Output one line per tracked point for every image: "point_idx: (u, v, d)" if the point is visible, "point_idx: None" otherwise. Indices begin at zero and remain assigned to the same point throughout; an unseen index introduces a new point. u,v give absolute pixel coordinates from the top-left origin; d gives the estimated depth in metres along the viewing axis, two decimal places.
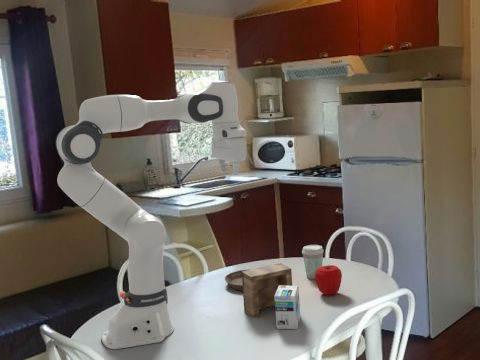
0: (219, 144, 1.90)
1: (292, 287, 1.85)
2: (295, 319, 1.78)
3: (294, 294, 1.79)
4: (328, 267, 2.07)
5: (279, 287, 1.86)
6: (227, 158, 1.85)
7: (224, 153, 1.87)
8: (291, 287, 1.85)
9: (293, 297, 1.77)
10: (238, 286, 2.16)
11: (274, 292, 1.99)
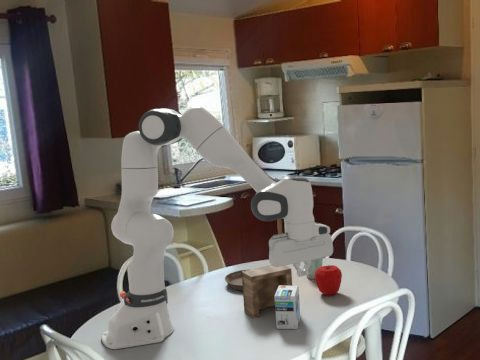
0: (294, 247, 1.68)
1: (292, 287, 1.85)
2: (295, 319, 1.78)
3: (294, 294, 1.79)
4: (328, 267, 2.07)
5: (279, 287, 1.86)
6: (314, 257, 1.71)
7: (308, 253, 1.70)
8: (291, 287, 1.85)
9: (293, 297, 1.77)
10: (238, 286, 2.16)
11: (274, 292, 1.99)
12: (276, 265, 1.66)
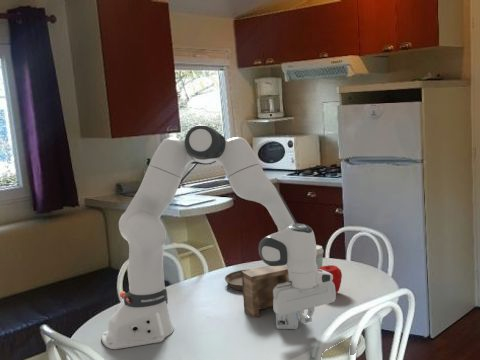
0: (298, 295, 1.71)
1: None
2: (295, 319, 1.78)
3: None
4: (328, 267, 2.07)
5: None
6: (317, 304, 1.74)
7: (311, 300, 1.72)
8: None
9: None
10: (238, 286, 2.16)
11: None
12: (280, 314, 1.68)
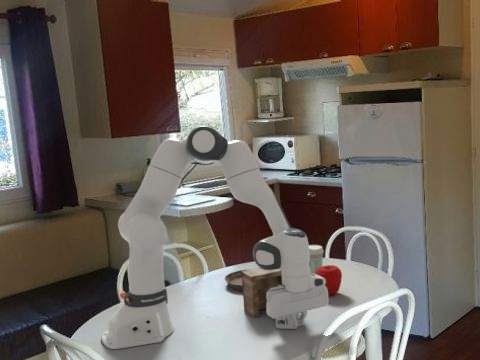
0: (291, 298, 1.74)
1: None
2: None
3: None
4: (328, 267, 2.07)
5: None
6: (310, 308, 1.76)
7: (304, 304, 1.75)
8: None
9: None
10: (238, 286, 2.16)
11: None
12: (273, 316, 1.71)
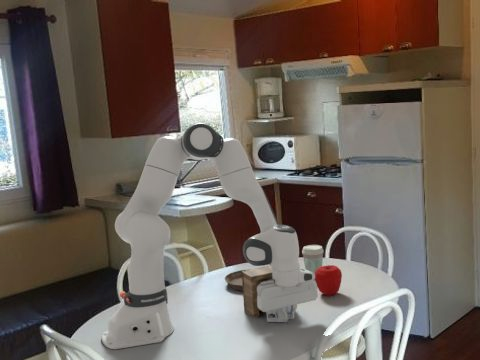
0: (281, 293, 1.79)
1: None
2: None
3: None
4: (328, 267, 2.07)
5: None
6: (300, 302, 1.82)
7: (294, 298, 1.81)
8: None
9: None
10: (238, 286, 2.16)
11: None
12: (263, 310, 1.77)
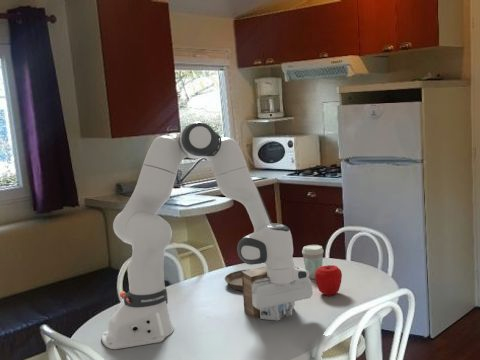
0: (275, 290, 1.82)
1: None
2: None
3: None
4: (328, 267, 2.07)
5: None
6: (294, 299, 1.84)
7: (288, 296, 1.83)
8: None
9: None
10: (238, 286, 2.16)
11: None
12: (258, 307, 1.80)
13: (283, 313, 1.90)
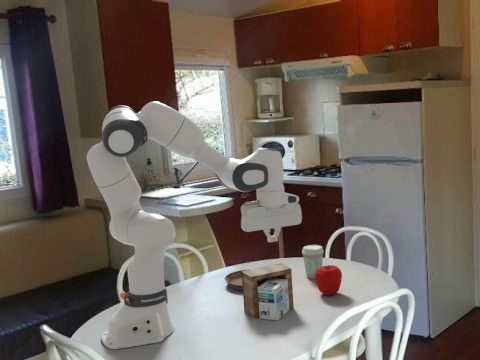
0: (264, 214, 1.80)
1: (280, 280, 1.93)
2: (276, 311, 1.86)
3: (276, 287, 1.87)
4: (328, 267, 2.07)
5: (268, 279, 1.94)
6: (283, 224, 1.83)
7: (277, 220, 1.82)
8: (279, 280, 1.93)
9: (274, 290, 1.85)
10: (238, 286, 2.16)
11: None
12: (247, 230, 1.78)
13: (282, 313, 1.90)
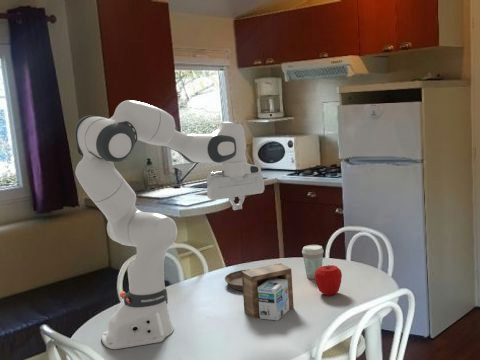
0: (229, 183, 1.94)
1: (280, 280, 1.93)
2: (276, 311, 1.86)
3: (276, 287, 1.87)
4: (328, 267, 2.07)
5: (268, 279, 1.94)
6: (247, 193, 1.97)
7: (241, 189, 1.96)
8: (279, 280, 1.93)
9: (274, 290, 1.85)
10: (238, 286, 2.16)
11: None
12: (212, 198, 1.92)
13: (282, 313, 1.90)
